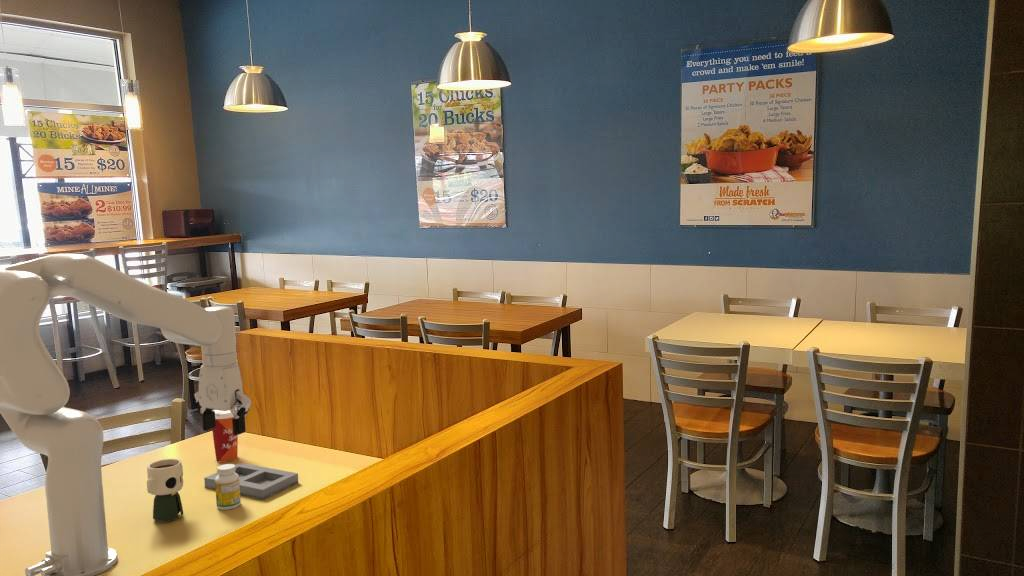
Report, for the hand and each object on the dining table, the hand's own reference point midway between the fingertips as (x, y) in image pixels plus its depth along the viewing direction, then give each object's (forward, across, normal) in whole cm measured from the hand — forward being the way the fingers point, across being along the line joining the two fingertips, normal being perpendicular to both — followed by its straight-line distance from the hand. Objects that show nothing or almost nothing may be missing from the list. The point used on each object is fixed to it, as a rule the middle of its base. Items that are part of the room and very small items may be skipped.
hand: (224, 431), depth 170 cm
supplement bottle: (+18, 0, 0) cm, 18 cm away
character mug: (+18, -7, -11) cm, 23 cm away
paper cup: (+18, -27, +24) cm, 40 cm away
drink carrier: (+18, -5, +12) cm, 22 cm away
